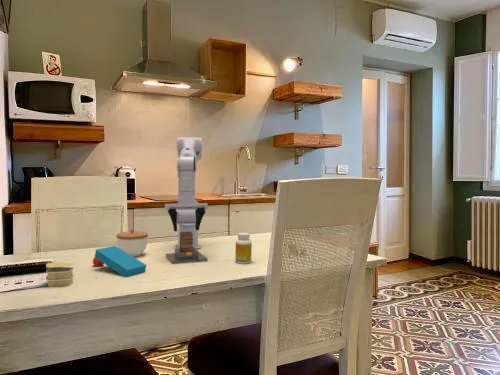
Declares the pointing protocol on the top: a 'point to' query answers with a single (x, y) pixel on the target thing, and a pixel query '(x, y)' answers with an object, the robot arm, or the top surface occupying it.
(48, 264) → the stacked layers on plate
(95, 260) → the lever
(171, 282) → the top surface
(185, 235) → the column
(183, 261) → the socket
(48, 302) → the top surface
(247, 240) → the supplement bottle
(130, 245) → the lidded jar
